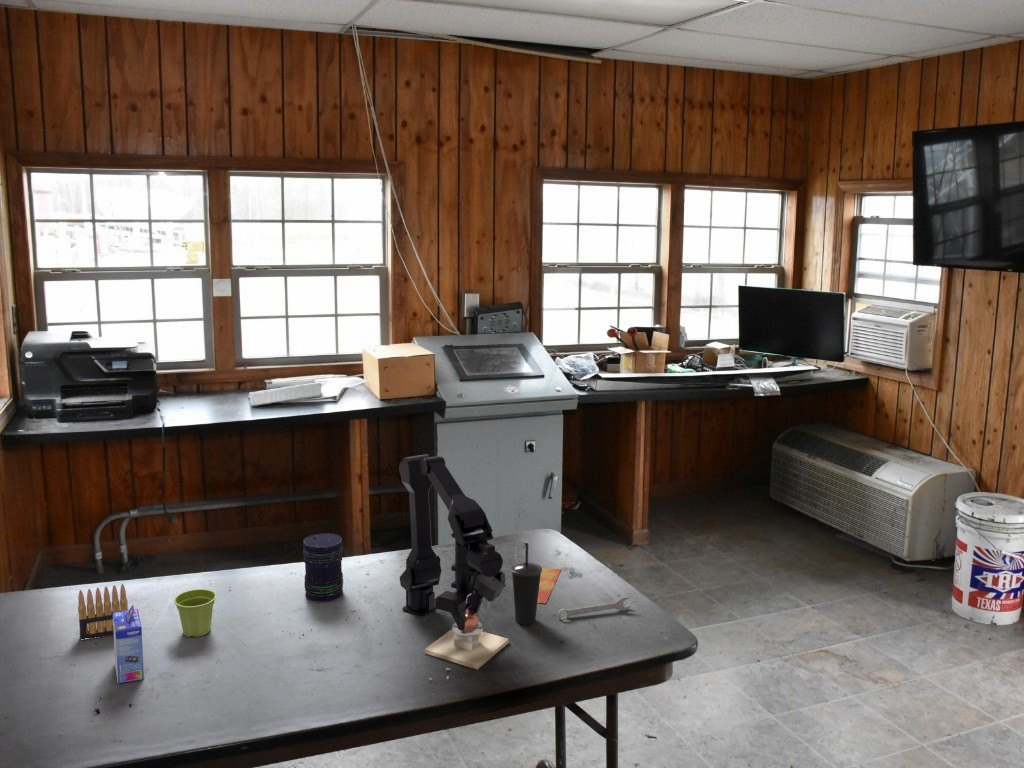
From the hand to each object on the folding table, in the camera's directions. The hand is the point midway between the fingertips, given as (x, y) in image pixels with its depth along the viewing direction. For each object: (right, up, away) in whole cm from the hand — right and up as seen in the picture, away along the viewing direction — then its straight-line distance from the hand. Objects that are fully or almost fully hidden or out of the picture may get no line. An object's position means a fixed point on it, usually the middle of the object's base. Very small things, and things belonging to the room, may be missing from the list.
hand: (467, 625), depth 201 cm
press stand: (0, -6, +1) cm, 6 cm away
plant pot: (-64, -4, +7) cm, 65 cm away
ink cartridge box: (-72, -7, -11) cm, 73 cm away
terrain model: (+9, +1, +38) cm, 39 cm away
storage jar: (-39, 0, +28) cm, 48 cm away
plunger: (0, -4, +1) cm, 5 cm away
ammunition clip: (-85, -4, +5) cm, 85 cm away
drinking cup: (+14, -3, +15) cm, 21 cm away
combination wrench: (+31, -3, +19) cm, 37 cm away
